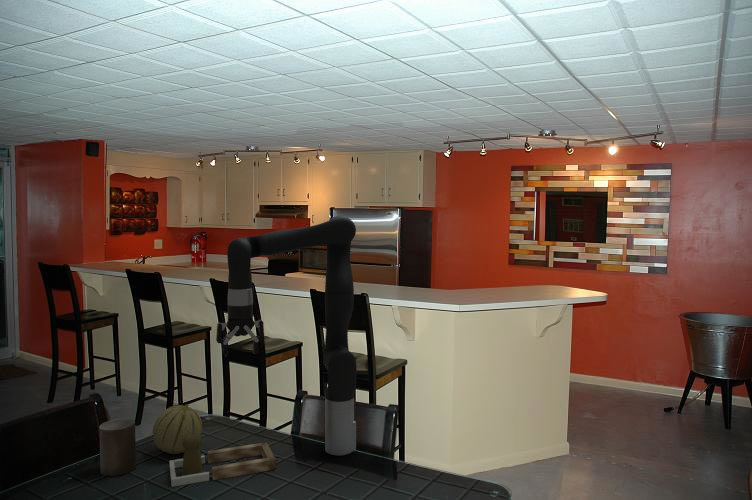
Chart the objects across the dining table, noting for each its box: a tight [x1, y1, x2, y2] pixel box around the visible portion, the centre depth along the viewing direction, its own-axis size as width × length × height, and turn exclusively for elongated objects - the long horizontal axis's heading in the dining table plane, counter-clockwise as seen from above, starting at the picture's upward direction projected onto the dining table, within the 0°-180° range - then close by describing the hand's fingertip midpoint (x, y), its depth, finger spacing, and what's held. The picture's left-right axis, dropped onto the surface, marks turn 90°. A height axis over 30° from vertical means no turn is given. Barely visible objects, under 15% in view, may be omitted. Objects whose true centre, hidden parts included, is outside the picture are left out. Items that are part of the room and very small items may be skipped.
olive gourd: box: [181, 435, 204, 476], centre depth 159 cm, size 6×6×11 cm
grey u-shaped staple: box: [168, 455, 210, 488], centre depth 159 cm, size 10×13×2 cm
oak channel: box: [207, 442, 277, 481], centre depth 165 cm, size 18×14×3 cm
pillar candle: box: [98, 418, 137, 477], centre depth 161 cm, size 10×10×15 cm
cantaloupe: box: [152, 403, 203, 455], centre depth 173 cm, size 15×15×15 cm
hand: (240, 355), depth 169 cm, fingers open, 8 cm apart
